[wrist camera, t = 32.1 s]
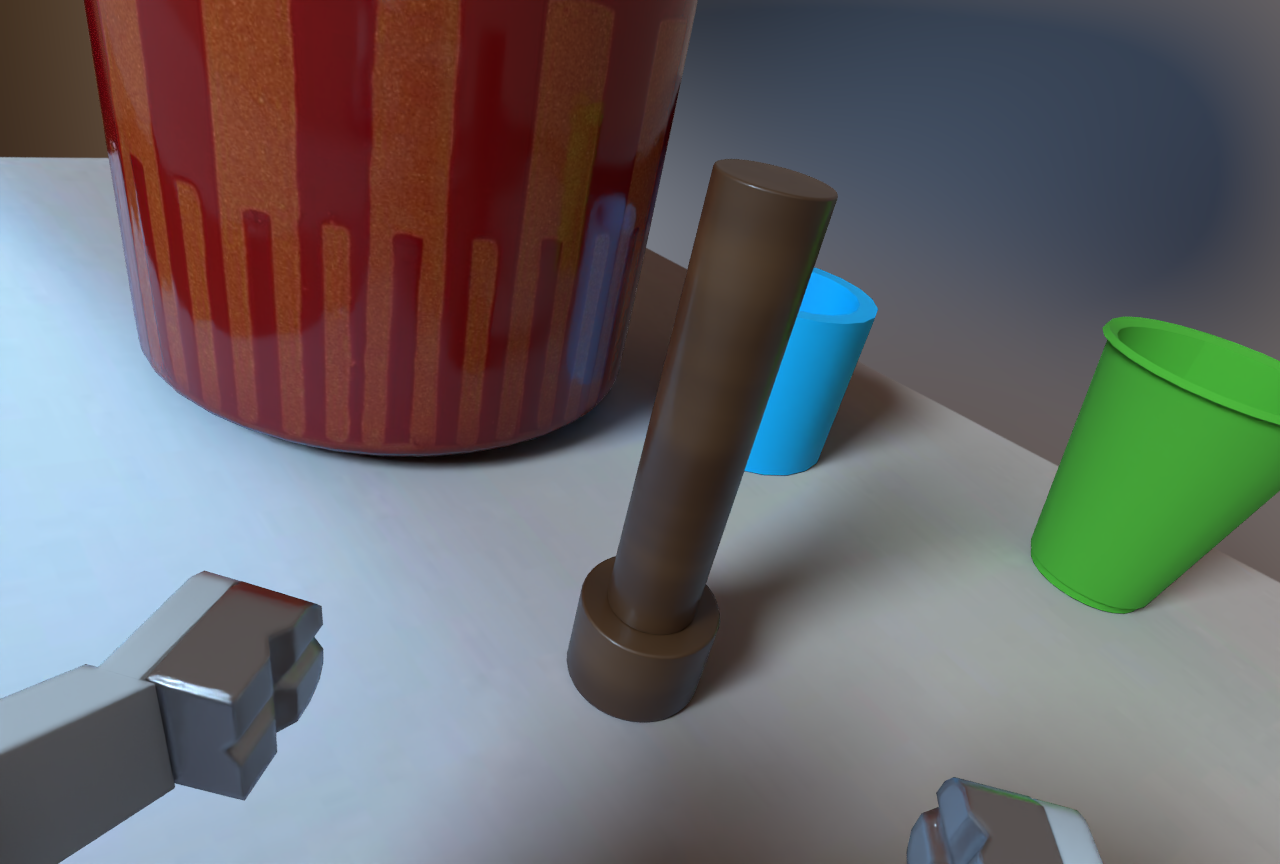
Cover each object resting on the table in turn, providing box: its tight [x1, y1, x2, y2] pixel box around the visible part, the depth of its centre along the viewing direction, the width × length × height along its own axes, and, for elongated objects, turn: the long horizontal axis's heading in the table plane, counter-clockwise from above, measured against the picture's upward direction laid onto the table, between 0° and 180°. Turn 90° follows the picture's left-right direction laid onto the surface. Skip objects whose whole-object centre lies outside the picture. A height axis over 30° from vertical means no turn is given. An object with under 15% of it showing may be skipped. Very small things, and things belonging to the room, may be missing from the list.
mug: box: [744, 267, 878, 475], centre depth 39 cm, size 12×8×8 cm
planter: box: [84, 0, 698, 457], centre depth 34 cm, size 23×23×20 cm
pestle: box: [567, 159, 838, 722], centre depth 20 cm, size 4×4×16 cm
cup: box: [1031, 317, 1280, 613], centre depth 32 cm, size 9×9×11 cm
